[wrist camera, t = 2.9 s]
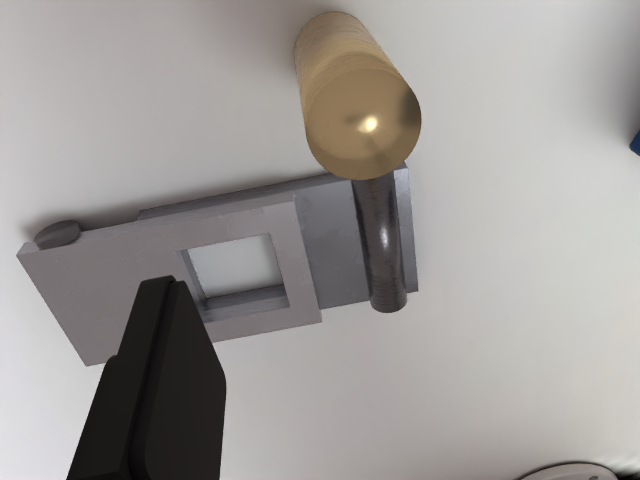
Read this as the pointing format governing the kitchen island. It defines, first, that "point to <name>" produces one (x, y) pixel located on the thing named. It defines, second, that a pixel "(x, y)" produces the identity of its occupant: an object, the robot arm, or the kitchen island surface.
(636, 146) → the protein box
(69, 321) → the hinged hasp latch
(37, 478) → the kitchen island surface
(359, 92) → the brass pin
